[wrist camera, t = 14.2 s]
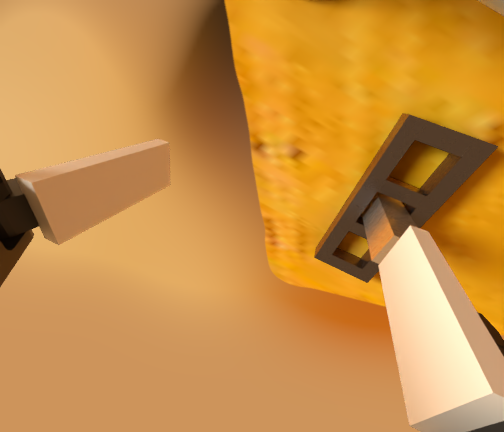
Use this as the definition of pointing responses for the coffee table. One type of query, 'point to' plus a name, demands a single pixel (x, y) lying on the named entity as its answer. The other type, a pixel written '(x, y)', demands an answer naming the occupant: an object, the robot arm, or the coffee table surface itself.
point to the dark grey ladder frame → (402, 187)
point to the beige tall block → (384, 224)
